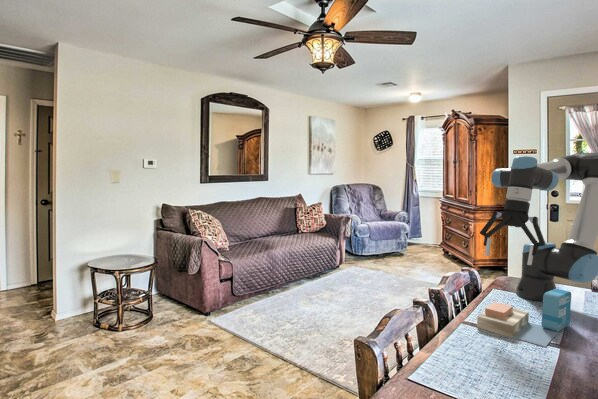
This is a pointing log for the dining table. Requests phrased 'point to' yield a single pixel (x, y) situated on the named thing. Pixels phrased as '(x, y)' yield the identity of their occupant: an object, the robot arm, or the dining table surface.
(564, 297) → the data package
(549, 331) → the mat
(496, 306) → the salmon orange flat block
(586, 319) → the dining table surface
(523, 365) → the dining table surface
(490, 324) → the plate
